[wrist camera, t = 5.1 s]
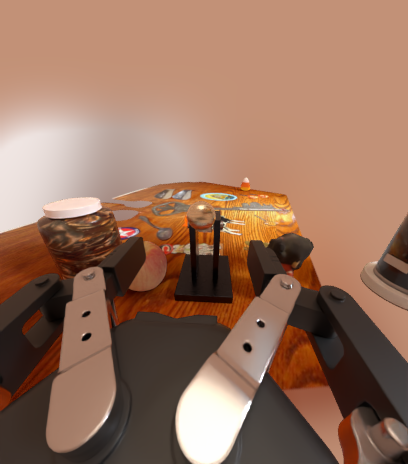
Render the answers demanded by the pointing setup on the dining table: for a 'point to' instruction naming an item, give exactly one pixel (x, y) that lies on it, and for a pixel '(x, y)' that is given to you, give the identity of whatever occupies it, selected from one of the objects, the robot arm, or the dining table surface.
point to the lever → (201, 216)
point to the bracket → (205, 272)
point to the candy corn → (245, 185)
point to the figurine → (291, 251)
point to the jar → (78, 233)
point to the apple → (150, 269)
